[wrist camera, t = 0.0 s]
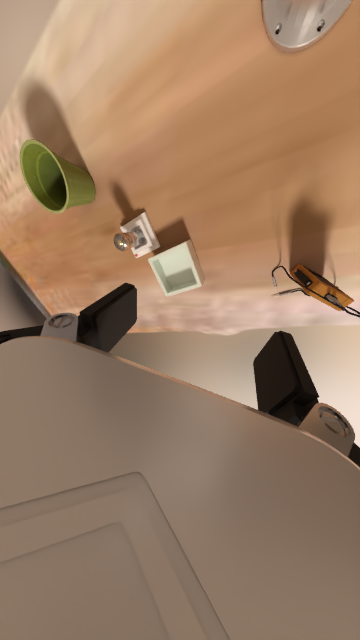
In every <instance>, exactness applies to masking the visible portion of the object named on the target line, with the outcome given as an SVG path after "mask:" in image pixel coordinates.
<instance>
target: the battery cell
mask: <svg viewBox="0 0 360 640" xmlns="http://www.w3.org/2000/svg"><path fill="white" fill-rule="evenodd" d="M145 240H146V238H145V236H144V234H143V232H142V231H140V230H137V231H131V232H126V233H119V234H116V235H115V236H114V244H115V246H116V247H117V248H118V249H119V250H121V251H124V250H127V249H130V248H132V247H135V246H138V245H141V244H143V243H144V242H145Z"/></svg>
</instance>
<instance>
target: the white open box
mask: <svg viewBox="0 0 360 640" xmlns="http://www.w3.org/2000/svg"><path fill="white" fill-rule="evenodd" d="M148 261H149V263H150V265H151V267H152V269H153V271H154V273H155V275H156V278H157V280H158V282H159V284H160V286H161V288H162V290H163V292H164V294H165V296H166V297H168V296H171V295H174V294H178V293H181V292H184V291H188V290H191V289H194V288H198V287H201V286H202V285H203V283H204V281H205V279H204V276H203V273H202V271H201V268H200V265H199V262H198V259H197V256H196V253H195V250H194V247H193V245H192V242H191V239H189V240H187V241H185V242H183V243H181V244H179V245H176V246H174V247H172V248H170V249H168V250H166V251H163V252H161V253H159V254H157V255H155V256H153V257H151V258H149V259H148Z"/></svg>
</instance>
